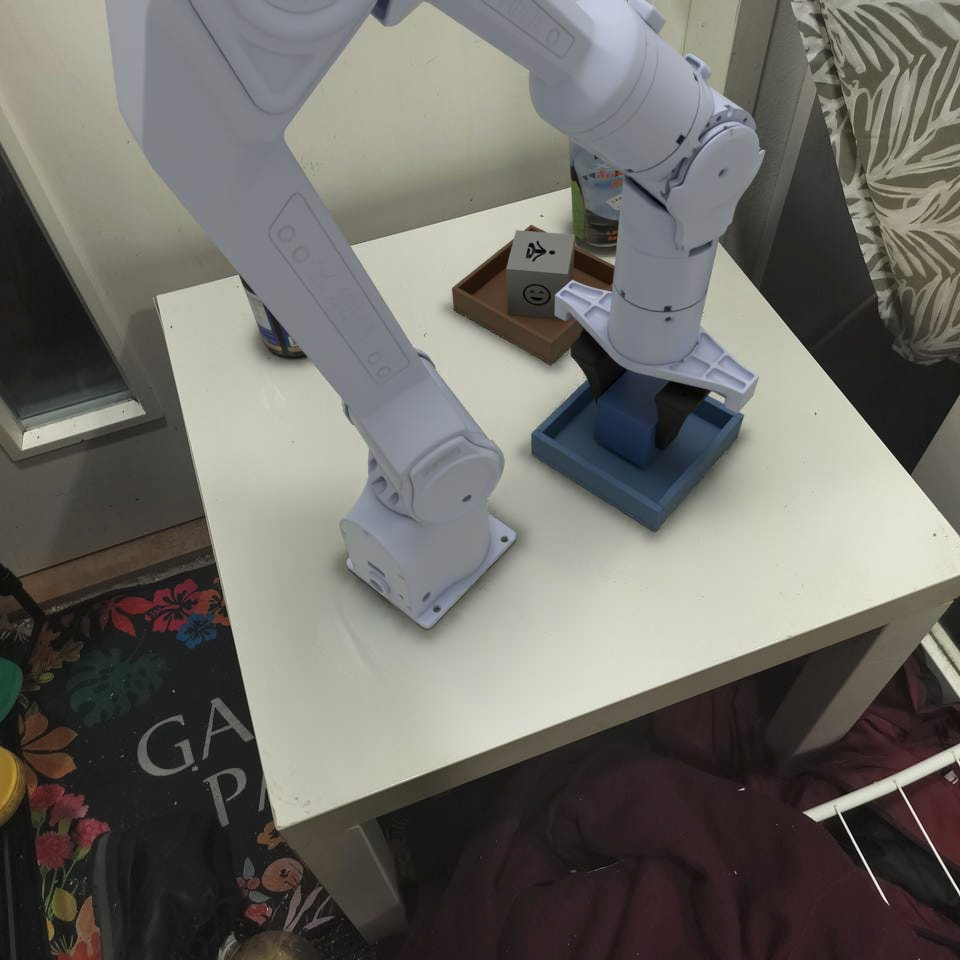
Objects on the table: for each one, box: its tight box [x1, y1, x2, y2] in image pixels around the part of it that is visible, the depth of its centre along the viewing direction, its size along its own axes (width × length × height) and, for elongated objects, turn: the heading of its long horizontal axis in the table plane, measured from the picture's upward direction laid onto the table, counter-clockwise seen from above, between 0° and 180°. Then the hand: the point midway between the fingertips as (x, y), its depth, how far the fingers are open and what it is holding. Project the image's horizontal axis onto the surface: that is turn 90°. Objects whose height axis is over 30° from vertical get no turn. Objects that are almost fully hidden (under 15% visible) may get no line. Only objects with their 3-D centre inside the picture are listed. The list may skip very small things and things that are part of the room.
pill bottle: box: [237, 272, 306, 357], centre depth 68 cm, size 6×6×11 cm
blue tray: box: [530, 369, 745, 533], centre depth 63 cm, size 11×11×2 cm
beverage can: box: [568, 137, 626, 248], centre depth 74 cm, size 6×7×12 cm
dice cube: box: [506, 229, 576, 320], centre depth 71 cm, size 5×5×5 cm
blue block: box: [594, 370, 668, 469], centre depth 61 cm, size 4×4×4 cm
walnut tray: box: [451, 224, 615, 366], centre depth 73 cm, size 11×11×2 cm
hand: (638, 423), depth 62 cm, fingers closed on blue block, 4 cm apart
